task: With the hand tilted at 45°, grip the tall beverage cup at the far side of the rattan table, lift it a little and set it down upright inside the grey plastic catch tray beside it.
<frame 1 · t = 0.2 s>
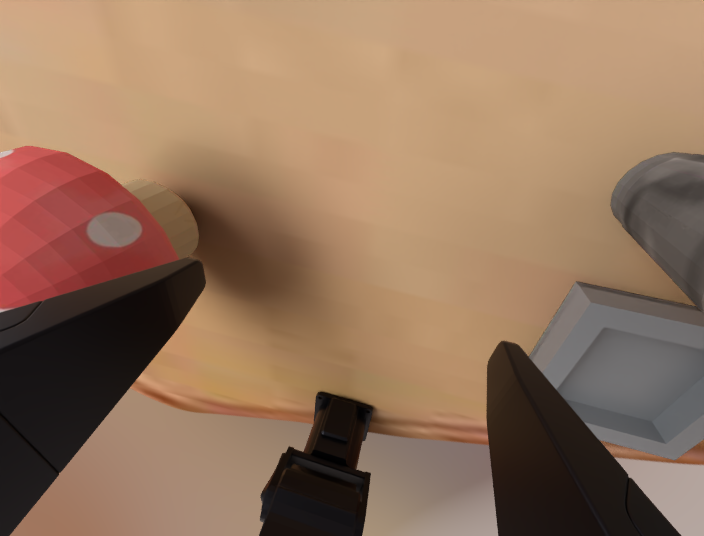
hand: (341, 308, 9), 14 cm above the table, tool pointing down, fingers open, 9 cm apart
beverage cup: (655, 191, 18), on the table
decorative mushroom: (180, 210, 27), on the table
catch tray: (620, 364, 24), on the table
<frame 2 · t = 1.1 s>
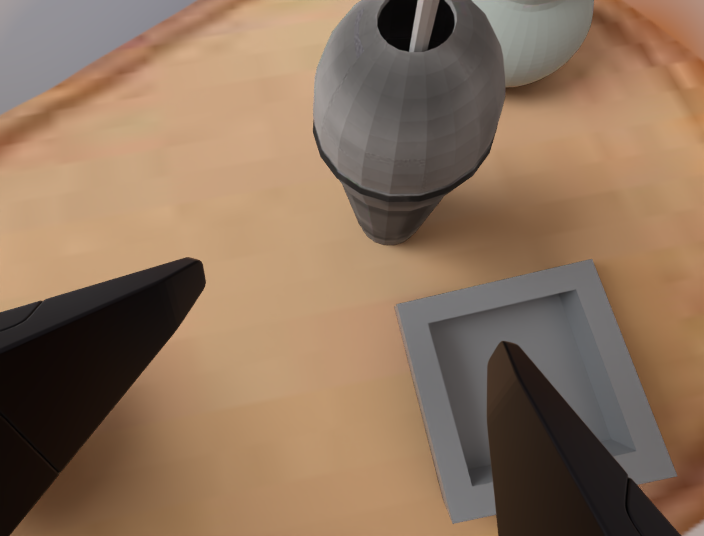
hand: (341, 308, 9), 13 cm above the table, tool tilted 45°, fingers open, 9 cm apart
air freshener: (493, 51, 26), on the table
beverage cup: (389, 217, 24), on the table
catch tray: (508, 376, 21), on the table
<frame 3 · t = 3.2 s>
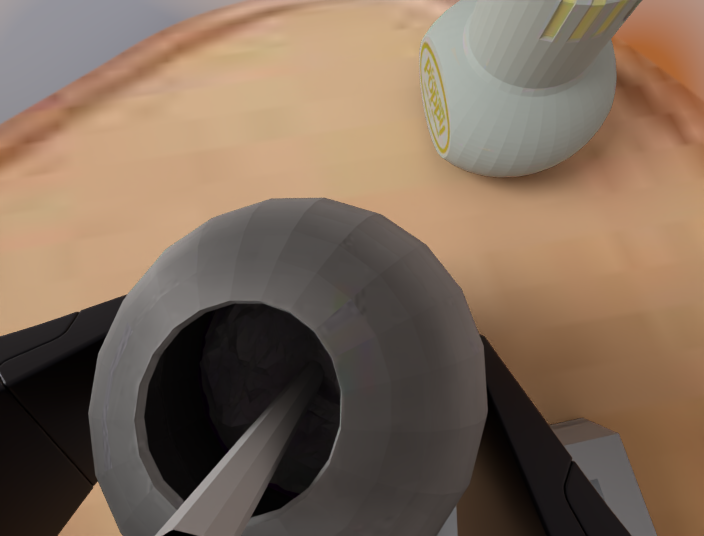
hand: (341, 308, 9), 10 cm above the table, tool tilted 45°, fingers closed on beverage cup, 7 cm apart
air freshener: (485, 121, 21), on the table
beverage cup: (351, 341, 18), on the table, touching gripper
when the fingers open (11 cm above the table, at t = 7.1 s): beverage cup drops 1 cm, resting on catch tray.
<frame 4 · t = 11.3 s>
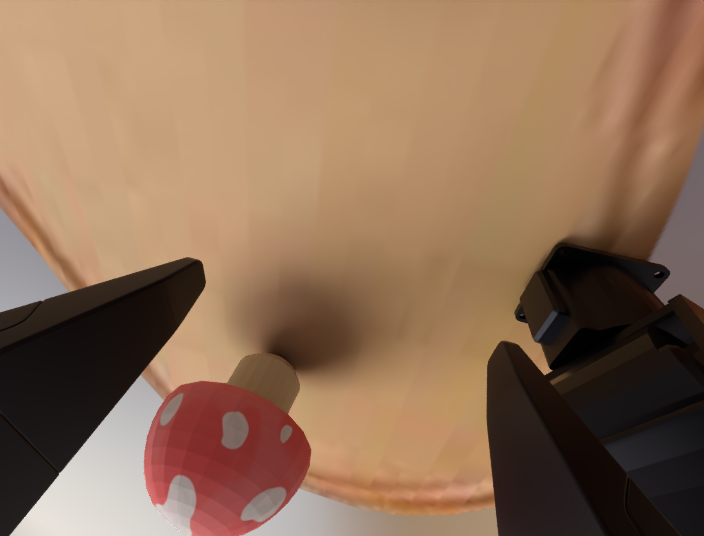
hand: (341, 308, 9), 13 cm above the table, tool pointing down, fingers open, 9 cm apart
decorative mushroom: (279, 359, 33), on the table
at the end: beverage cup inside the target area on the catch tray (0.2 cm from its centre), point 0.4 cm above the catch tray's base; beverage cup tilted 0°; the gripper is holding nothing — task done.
